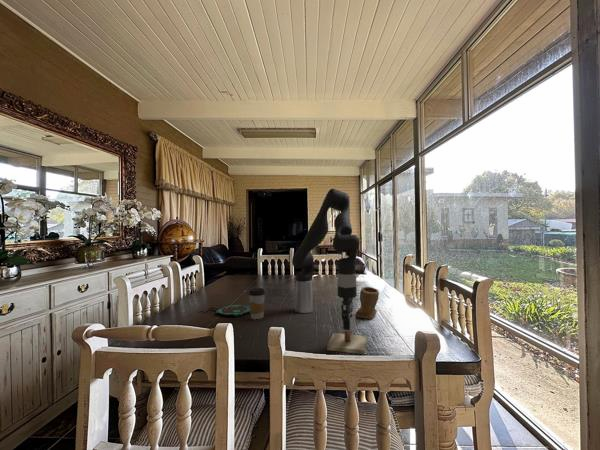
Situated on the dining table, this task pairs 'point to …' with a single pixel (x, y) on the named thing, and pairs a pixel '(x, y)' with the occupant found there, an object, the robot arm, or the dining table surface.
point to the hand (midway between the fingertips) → (347, 326)
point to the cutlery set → (234, 310)
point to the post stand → (347, 343)
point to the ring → (351, 322)
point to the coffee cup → (257, 303)
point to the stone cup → (367, 302)
